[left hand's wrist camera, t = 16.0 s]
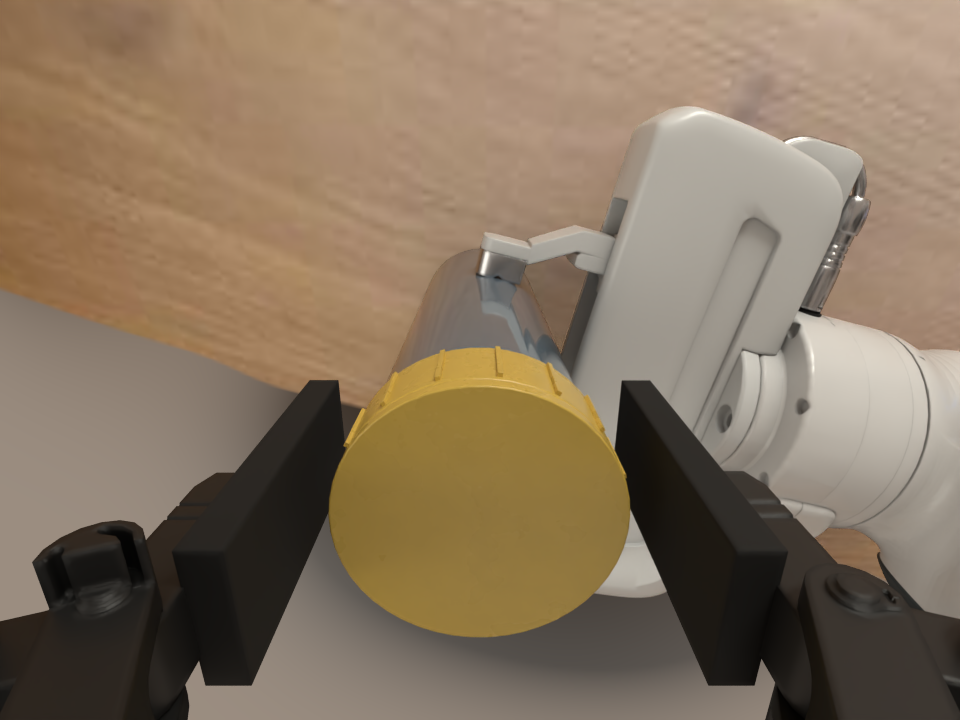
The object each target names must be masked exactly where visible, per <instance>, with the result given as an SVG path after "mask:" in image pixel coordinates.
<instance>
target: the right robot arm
mask: <svg viewBox="0 0 960 720" xmlns="http://www.w3.org/2000/svg"><path fill="white" fill-rule="evenodd" d="M866 185H867V178H866V170H865V167H864V165H863V160H862V158H861V157H860V156H859V155H858V154H857V153H856V152H854V151H853V150H851V149H849V148H847V147H846V146H843V145H839V144H836V143H832V142H829V141H826V140H822V139H819V138H815V137H812V136H796V137H792V138H788V139H786V140H783V141H781V140H779V139H777V138H775V137H773V136H771V135H769V134H767V133H765V132H763V131H761V130H758V129H756V128H754V127H751V126H749V125H747V124H744V123H742V122H740V121H737V120H735V119H732V118H729V117H727V116H724V115H721V114H718V113H716V112H713V111H710V110H706V109H703V108H699V107H694V106H682V107H676V108H671V109H669V110H666V111H664V112H662V113H660V114H658V115H656V116H654V117H652V118H650V119H649V120H647V121H645V122H643V123H642V124H640V125H639V126H638V127H637V128H636V129H635V130H634V131H633V133H632V136H631V139H630V142H629V145H628V148H627V151H626V154H625V157H624V160H623V163H622V166H621V170H620V173H619V176H618V179H617V182H616V185H615V188H614V191H613V194H612V197H611V200H610V204H609V207H608V210H607V213H606V216H605V219H604V222H603V225H602V228H601V231H596V230H592V229H588V228H584V227H580V226H576V225H573V226H570V227H566V228H563V229H559V230H556V231H553V232H549V233H546V234H543V235H539V236H536V237H532V238H529V239H528V240H527V242H526V241H522V240H518V239H514V238H510V237H506V236H502V235H498V234H494V233H488V232H484V234H483V238H482V243H481V246H480V251H479V255H478V260H477V264H476V268H475V269H476V270H475V272H476V273H477V274H479V275H482V276H485V277H491V278H494V277H496V276H499V277H500V278H501V279H502V280H503V281H506V282H509V283H513V284H517V285H520V283H521V280H522V277H523V273H524V270H525V267H526V264H527V265H530V264H534V263H537V262H541V261H545V260H549V259H552V258H556V257H560V256H564V255H566V257H567V259H568V260H569V261H570V262H571V263H572V264H573V265H574V266H575V267H576V268H578V269H582V270H585V271H588V272H587V275H586V278H585V281H584V284H583V287H582V290H581V293H580V296H579V299H578V302H577V306H576V309H575V312H574V315H573V318H572V321H571V324H570V327H569V330H568V333H567V336H566V340H565V343H564V346H563V349H562V352H561V356H562V359H563V361H564V363H565V366H566V368H567V370H568V372H569V375H570V377H571V379H572V382H573V384H574V385H575V386H576V387H577V388H578V389H579V390H580V391H581V392H582V394H583V395H584V396H586V395H588V396H589V397H590V399H591V401H592V403H593V405H594V407H595V409H596V411H597V413H598V415H599V417H600V420H601V422H602V424H603V426H604V428H605V430H606V431H604V432H605V434H606V436H607V437H608V438H609V440H610V442H611V444H612V446H613V448H614V450H615V441H616V431H617V421H618V411H619V401H620V392H621V382H622V380H650V381H651V382H652V383H653V384H654V386H655V387H656V388H657V389H658V391H659V392H660V393H661V394H662V396H663V397H664V398H665V399H666V400H667V402H668V403H669V404H670V405H671V407H672V408H673V409H674V410H675V412H676V413H677V414H678V415H679V417H680V418H681V419H682V420H683V421H684V423H685V424H686V425H687V426H688V428H689V429H690V430H691V431H692V433H693V434H694V435H695V436H696V438H697V439H698V440H699V441H700V442H701V444H702V445H703V446H704V447H705V449H706V450H707V451H708V452H709V454H710V455H711V456H712V457H713V459H714V460H715V461H716V462H717V463H718V465H719V466H720V467H721V468H722V470H723V471H744V472H746V473H748V474H749V475H751V476H752V477H754V478H756V479H757V480H759V481H761V482H762V483H764V484H765V485H767V487H768V488H769V489H770V490H771V491H772V492H773V493H774V494H775V495H776V496H777V498H778V499H779V500H780V501H781V504H784V505H785V506H786V507H787V509H788V510H789V511H790V512H791V513H792V514H793V518H797V520H798V521H799V522H800V523H801V524H802V525H803V526H804V527H805V528H806V529H807V531H808V532H809V533H810V534H811V535H812V536H813V537H814V538H815V537H817V536H818V535H820V534H821V533H823V532H824V531H825V530H826V529H827V528H845V529H854V530H857V531H859V532H861V533H863V534H865V535H866V536H867V537H869V538H870V539H872V540H873V541H874V542H875V543H876V544H877V545H878V546H879V548H880V552H879V553H878V554H877V558H878V561H879V564H880V567H881V569H882V571H883V574H884V576H885V578H886V580H887V582H888V584H889V586H891V587H892V588H893V589H894V590H896V591H897V592H898V593H899V594H901V596H902V597H903V598H904V600H905V601H906V602H907V604H908V605H909V606H910V608H914V609H918V610H922V611H926V612H931V613H935V614H940V615H944V616H949V617H953V618H958V619H960V351H955V350H942V349H933V350H918V349H917V348H915V347H914V346H912V345H911V344H909V343H907V342H906V341H904V340H902V339H901V338H899V337H897V336H895V335H892V334H890V333H887V332H884V331H882V330H878V329H874V328H870V327H867V326H863V325H859V324H855V323H851V322H847V321H843V320H839V319H835V318H832V317H828V316H824V315H821V314H820V312H821V310H822V308H823V306H824V304H825V302H826V300H827V298H828V296H829V294H830V292H831V290H832V288H833V286H834V284H835V282H836V280H837V277H838V275H839V272H840V268H841V267H842V264H843V263H842V261H844V258H845V254H846V253H847V251H848V247H850V245H851V243H852V241H853V239H854V237H855V236H857V235H858V234H859V232H860V231H861V229H862V227H863V225H864V223H865V221H866V218H867V216H868V212H869V209H870V205H871V201H870V200H868V199H864V195H865V191H866ZM852 188H853V190H852ZM851 190H852V196H849V194H850V192H851ZM665 592H667V591H666V589H665V586H664V584H663V582H662V580H661V577H660V575H659V573H658V571H657V568H656V566H655V564H654V561H653V559H652V557H651V555H650V552H649V550H648V548H647V546H646V543H645V541H644V539H643V537H642V534H641V532H640V530H639V528H638V525H637V523H636V521H635V519H634V516H633V514H632V512H631V510H630V522H629V531H628V535H627V538H626V542H625V546H624V549H623V551H622V553H621V555H620V558H619V560H618V562H617V564H616V566H615V567H614V569H613V570H612V572H611V574H610V575H609V577H608V578H607V579H606V580H605V582H604V583H603V584H602V585H601V586H600V588H599V589H598V590H597V591H596V592H595V593H596V594H603V595H611V596H618V597H630V598H644V597H652V596H656V595H660V594H663V593H665Z"/></svg>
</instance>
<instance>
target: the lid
mask: <svg viewBox="0 0 960 720" xmlns="http://www.w3.org/2000/svg"><path fill="white" fill-rule="evenodd" d="M604 431H606V430H605V428H604V426H603V424H602V422H601V420H600V417H599V415H598V413H597V411H596V409H595V407H594V405H593V403H592V401H591V399H590V397H589V396H588V395H586V396H584V395H583V394H582V392H581V391H580V390H579V389H578V388H577V387H576V386H575V385H574V384H573V383H572V382H571V381H570V380H569V379H568V378H566V377H565V376H564V375H562V374H561V373H560V372H558V371H557V370H555V369H554V368H553V366H552V364H551V363H549V362H547V364H545V363H543V362H541V361H539V360H537V359H534V358H532V357H529V356H527V355H524V354H520V353H516V352H512V351H508V350H503V349H501V348H500V346H495V348H464V349H456V350H450V351H445V349H443V350H440V353H439V354H435V355H432V356H430V357H427V358H425V359H422V360H420V361H418V362H416V363H414V364H412V365H411V366H409V367H407V368H405V369H403V370H402V371H401V372H399V373H397V372H394V373H393V374H392V376H391V378H390V380H389V381H388V382H387V383H386V384H385V385H384V386H383V387H382V388H381V389H380V390H379V391H378V392H377V394H376V395H375V396H374V398H373V399H372V400H371V402H370V403H369V405H368V406H367V408H366V410H365V409H363V408H362V409H361V411H360V413H359V415H358V417H357V419H356V421H355V423H354V425H353V427H352V429H351V431H350V433H349V435H348V437H347V439H346V442H345V443H344V445H343V446H344V447H346V448H347V449H346V451H345V453H344V455H343V457H342V459H341V461H340V463H339V465H338V468H337V471H336V473H335V476H334V479H333V481H332V486H331V491H330V496H329V524H330V532H331V535H332V539H333V542H334V546H335V549H336V551H337V553H338V556H339V558H340V560H341V562H342V564H343V566H344V567H345V569H346V570H347V572H348V574H349V575H350V577H351V578H352V579H353V580H354V582H355V583H356V584H357V585H358V586H359V588H360V589H361V590H362V591H363V592H364V593H365V594H366V595H367V596H369V597H370V598H371V599H372V600H373V601H374V602H375V603H377V604H378V605H379V606H381V607H382V608H384V609H385V610H386V611H388V612H390V613H391V614H393V615H395V616H397V617H399V618H400V619H402V620H404V621H406V622H409V623H411V624H414V625H416V626H418V627H421V628H424V629H428V630H431V631H434V632H438V633H443V634H448V635H454V636H464V637H495V636H505V635H511V634H516V633H520V632H525V631H528V630H531V629H535V628H538V627H541V626H543V625H545V624H548V623H550V622H552V621H555V620H557V619H559V618H561V617H562V616H564V615H566V614H568V613H569V612H571V611H573V610H574V609H575V608H577V607H578V606H579V605H581V604H582V603H584V602H585V601H586V600H587V599H588V598H589V597H590V596H591V595H593V594H594V593H595V592H596V591H597V590H598V589H599V588H600V586H601V585H602V584H603V583H604V582H605V580H606V579H607V578H608V577H609V575H610V574H611V572H612V570H613V569H614V567H615V566H616V564H617V562H618V560H619V558H620V555H621V553H622V551H623V549H624V546H625V542H626V538H627V535H628V531H629V522H630V497H629V492H628V487H627V482H626V479H625V478H627V477H626V473H625V471H624V469H623V467H622V465H621V463H620V461H619V459H618V457H617V455H616V452H615V450H614V448H613V446H612V444H611V442H610V440H609V438H608V437H607V436H606V434H605V432H604Z"/></svg>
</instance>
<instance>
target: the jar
mask: <svg viewBox="0 0 960 720" xmlns="http://www.w3.org/2000/svg"><path fill="white" fill-rule="evenodd" d="M479 251H480V249H474V250H468V251H464V252H461V253H458V254H457V255H455V256H453V257H451V258H450V259H448V260H447V261H446V262H445V263H443V264H442V265H441V266H440V268H439V269H438V270H437V271H436V273H435V275H434V276H433V278H432V280H431V283H430V285H429V287H428V289H427V292H426V294H425V296H424V298H423V301H422V303H421V305H420V308H419V310H418V312H417V314H416V317H415V319H414V321H413V323H412V326H411V328H410V330H409V332H408V335H407V337H406V339H405V342H404V344H403V346H402V348H401V351H400V353H399V355H398V357H397V360H396V362H395V364H394V366H393V369H392V371H391V373H390V376H389V378H388V380H387V382H388V381H389V380H390V378H391V376H392V374H393V373H394V372H397V373H399V372H401V371H402V370H403V369H405V368H407V367H409V366H411V365H412V364H414V363H416V362H418V361H420V360H422V359H425V358H427V357H430V356H432V355H435V354H439V353H440V350H443V349H445V351H450V350H456V349H464V348H495V346H500V348H501V349H503V350H508V351H512V352H516V353H520V354H524V355H527V356H529V357H532V358H534V359H537V360H539V361H541V362H543V363H545V364H547V362H549V363H551V364H552V366H553V368H554V369H555V370H557V371H558V372H560V373H561V374H562V375H564V376H565V377H566V378H568V379H569V380H570V381H571V382H572V379H571V377H570V375H569V372H568V370H567V368H566V366H565V363H564V361H563V359H562V356H561V354H560V352H559V350H558V347H557V345H556V343H555V340H554V338H553V336H552V334H551V331H550V329H549V327H548V324H547V322H546V320H545V318H544V315H543V313H542V311H541V308H540V306H539V304H538V302H537V299H536V297H535V295H534V292H533V290H532V288H531V286H530V283H529V281H528V279H527V277H526V275H525V274H524V273H523V277H522V280H521V283H520V285H517V284H513V283H509V282H506V281H503V280H502V279H501V278H500V277H499V276H496V277H494V278H491V277H485V276H482V275H479V274H477V273H476V272H475V270H476V269H475V268H476V264H477V260H478V255H479ZM387 382H386V383H387ZM572 383H573V382H572Z"/></svg>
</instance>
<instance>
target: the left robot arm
mask: <svg viewBox="0 0 960 720" xmlns="http://www.w3.org/2000/svg"><path fill="white" fill-rule="evenodd" d="M344 443H345V441H344V431H343V421H342V411H341V402H340V392H339V382H338V380H310V381H309V382H308V383H307V384H306V386H305V387H304V388H303V389H302V391H301V392H300V393H299V394H298V396H297V397H296V398H295V399H294V400H293V402H292V403H291V404H290V406H289V407H288V408H287V409H286V410H285V412H284V413H283V414H282V415H281V417H280V418H279V419H278V420H277V421H276V423H275V424H274V425H273V426H272V428H271V429H270V430H269V431H268V433H267V434H266V435H265V436H264V438H263V439H262V440H261V441H260V442H259V444H258V445H257V446H256V447H255V449H254V450H253V451H252V452H251V454H250V455H249V456H248V457H247V459H246V460H245V461H244V462H243V463H242V465H241V466H240V467H239V469H238V470H237V471H236V472H235V473H215V474H214V475H212V476H211V477H209V478H207V479H206V480H204V481H203V482H201V483H199V484H198V485H196V486H195V487H194V488H193V489H192V490H191V491H190V492H189V493H188V494H187V495H186V496H185V498H184V499H183V500H182V501H181V502H180V505H179V506H176V508H175V509H174V510H173V511H172V512H171V513H170V514H169V515H168V517H167V520H164V521H163V522H162V523H161V524H160V525H159V526H158V528H157V529H156V530H155V531H154V532H153V533H152V534H151V535H150V536H149V537H148V539H147V540H146V539H145V535H144V532H143V529H142V528H141V527H140V526H139V525H137V524H136V523H134V522H128V521H121V520H118V521H109V522H101V523H98V524H94V525H91V526H87V527H84V528H80V529H78V530H76V531H74V532H72V533H70V534H68V535H65V536H63V537H61V538H59V539H58V540H57V541H55V542H54V543H52V544H51V545H49V546H48V547H46V548H45V549H44V550H42V552H41V553H40V554H39V555H38V556H37V557H36V559H35V560H34V561H33V562H32V563H33V566H34V568H35V571H36V574H37V577H38V579H39V582H40V585H41V587H42V590H43V593H44V595H45V598H46V601H47V604H48V606H49V610H48V611H44V612H40V613H35V614H31V615H26V616H22V617H18V618H13V619H9V620H4V621H0V720H188V712H189V701H188V694H187V690H186V686H185V684H186V682H187V680H188V679H189V677H190V675H191V673H192V672H193V670H194V668H195V666H196V665H197V663H198V661H199V662H200V666H201V670H202V674H203V678H204V682H205V685H206V686H210V685H211V686H245V685H246V686H249V685H250V686H251V685H252V683H253V681H254V679H255V676H256V674H257V672H258V670H259V667H260V665H261V663H262V661H263V658H264V656H265V654H266V652H267V649H268V647H269V645H270V643H271V640H272V638H273V636H274V634H275V631H276V629H277V627H278V625H279V622H280V620H281V618H282V616H283V613H284V611H285V609H286V607H287V604H288V602H289V600H290V598H291V595H292V593H293V591H294V589H295V586H296V584H297V582H298V580H299V577H300V575H301V573H302V570H303V568H304V566H305V564H306V561H307V559H308V557H309V555H310V552H311V550H312V548H313V546H314V543H315V541H316V539H317V537H318V534H319V532H320V530H321V528H322V525H323V523H324V521H325V518H326V516H327V514H328V512H329V496H330V491H331V486H332V481H333V479H334V476H335V473H336V471H337V468H338V465H339V463H340V461H341V459H342V457H343V455H344V453H345V447H344V446H343V445H344ZM615 452H616V455H617V457H618V459H619V461H620V463H621V465H622V467H623V469H624V471H625V473H626V477H627V478H625V479H626V482H627V487H628V492H629V497H630V510H631V512H632V514H633V516H634V519H635V521H636V523H637V525H638V528H639V530H640V532H641V534H642V537H643V539H644V541H645V543H646V546H647V548H648V550H649V552H650V555H651V557H652V559H653V561H654V564H655V566H656V568H657V571H658V573H659V575H660V577H661V580H662V582H663V584H664V586H665V589H666V591H667V593H668V595H669V597H670V600H671V602H672V604H673V607H674V609H675V611H676V613H677V616H678V618H679V620H680V622H681V625H682V627H683V629H684V631H685V634H686V636H687V638H688V640H689V643H690V645H691V647H692V649H693V652H694V654H695V656H696V658H697V661H698V663H699V665H700V667H701V670H702V672H703V674H704V677H705V679H706V681H707V683H708V685H709V686H733V685H734V686H751V685H752V686H754V685H755V682H756V677H757V673H758V670H759V666H760V662H761V659H762V660H763V662H764V664H765V665H766V667H767V669H768V671H769V672H770V674H771V676H772V678H773V679H774V681H775V686H774V690H773V693H772V697H771V701H770V705H769V708H768V712H767V716H766V719H765V720H960V619H958V618H953V617H949V616H944V615H940V614H935V613H931V612H926V611H922V610H918V609H914V608H910V606H909V605H908V604H907V602H906V601H905V600H904V598H903V597H902V596H901V594H899V593H898V592H897V591H896V590H894V589H893V588H892V587H891V586H889V585H888V584H887V583H885V582H884V581H882V580H880V579H878V578H877V577H875V576H873V575H871V574H869V573H867V572H865V571H862V570H859V569H856V568H853V567H850V566H847V565H841V564H837V562H836V561H835V560H834V559H833V558H832V557H831V556H830V555H829V554H828V553H827V551H826V550H825V549H824V548H823V547H822V546H821V545H820V544H819V543H818V542H817V540H816V539H815V538H814V537H813V536H812V535H811V534H810V533H809V532H808V531H807V529H806V528H805V527H804V526H803V525H802V524H801V523H800V522H799V521H798V520H797V518H793V514H792V513H791V512H790V511H789V510H788V509H787V507H786V506H785V505H784V504H781V501H780V500H779V499H778V498H777V496H776V495H775V494H774V493H773V492H772V491H771V490H770V489H769V488H768V487H767V485H765V484H764V483H762V482H761V481H759V480H757V479H756V478H754V477H752V476H751V475H749V474H748V473H746V472H744V471H723V470H722V468H721V467H720V466H719V465H718V463H717V462H716V461H715V460H714V459H713V457H712V456H711V455H710V454H709V452H708V451H707V450H706V449H705V447H704V446H703V445H702V444H701V442H700V441H699V440H698V439H697V438H696V436H695V435H694V434H693V433H692V431H691V430H690V429H689V428H688V426H687V425H686V424H685V423H684V421H683V420H682V419H681V418H680V417H679V415H678V414H677V413H676V412H675V410H674V409H673V408H672V407H671V405H670V404H669V403H668V402H667V400H666V399H665V398H664V397H663V396H662V394H661V393H660V392H659V391H658V389H657V388H656V387H655V386H654V384H653V383H652V382H651V381H650V380H622V382H621V392H620V401H619V411H618V421H617V431H616V441H615Z"/></svg>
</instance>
